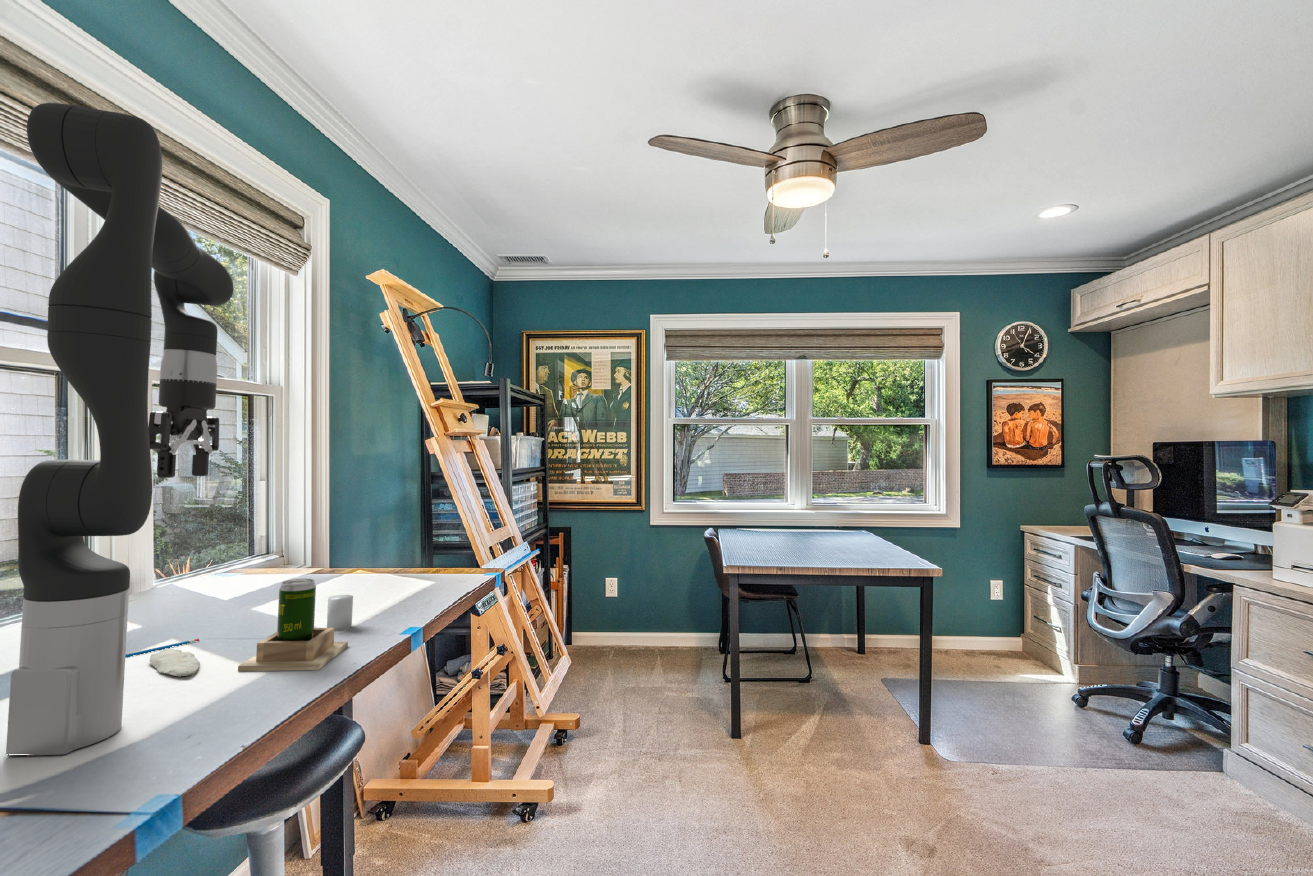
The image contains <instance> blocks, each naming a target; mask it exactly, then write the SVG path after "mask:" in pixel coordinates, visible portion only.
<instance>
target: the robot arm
mask: <svg viewBox="0 0 1313 876" xmlns="http://www.w3.org/2000/svg"><path fill="white" fill-rule="evenodd" d="M26 136H27V141H28V145H29V148H30V151H31V153H32V154H33V157H34V159H35V160H36V162H37V163H38V165H39V166H40V168H42V169H43V171H44V172H45V173H46V174H47V175H48V176H49V177H50V179H52V180H53V181H55V182H56V183H57V184H58V185H60V187H61V188H63V189H64V190H66V191H67V192H68V193H69V194H71V195H73V197H74V198H76V199H78V200H79V201H80V202H81V203H82V204H83V205H85V206H86V207H87V208H89V209H90V210H91V211H92V212H94V213H95V214H96V215H98V216H99V217H100V218H101V219H103V220H104V222H103V224H102V225H101V227H100V230H99V231H98V233H97V234H96V236H95V237H94V238H93V239H92V240H91V241H90V242H89V244H88V245H87V246H86V247H85V248H84V249H83V250H82V251H81V252H80V253H79V254H78V255H76V257H74V259H73V260H72V261H71V262H70V263H69V264H68V265H67V266H66V268H65V269H63V271H62V272H61V273H60V274H59V275H58V277H57V278H56V280H55V281H54V283H53V284H52V286H51V289H50V291H49V295H48V303H47V307H48V308H47V331H46V332H47V335H46V336H47V337H46V339H47V348H48V350H49V353H50V354H51V355H50V356H51V358H52V359H53V360H54V362H55V365H56V366H57V367H58V369H59V370H60V372H61V374H62V375H63V376H64V377H65V378H66V381H68V383H69V384H70V385H71V387H72V388H73V389H74V391H76V393H77V394H78V396H79V397H80V399H82V401H83V402H84V404H85V405H86V407H87V408H88V410H89V412H90V414H91V416H92V418H93V421H94V423H95V426H96V430H97V434H98V435H97V436H98V442H99V451H100V452H99V453H100V457H99V458H100V459H48V460H43V461H42V462H39V463H37V464H35V465H34V466H33V467H32V468H31V469H30V470H29V471H28V473H27V474H26V476H25V477H24V480H23V481H22V484H21V487H20V491H19V495H18V500H17V501H18V503H17V538H18V542H17V544H18V545H17V546H18V550H17V551H18V555H17V556H18V558H17V566H18V575H19V577H20V581H21V582H22V585H23V596H22V597H23V600H22V616H21V628H20V643H19V645H20V646H19V659H18V660H19V662H18V668H15V669H13V670H12V671H11V674H10V683H9V686H10V687H9V697H8V698H9V701H8V702H9V703H8V713H7V715H8V717H7V733H6V744H5V745H6V748H5V755H6V754H8V755H9V754H34V755H33V756H52V755H54V756H57V755H67V754H69V753H71V752H73V751H75V750H77V749H80V748H85V747H87V746H91V745H94V744H96V743H99V742H101V741H104V740H105V739H108V738H110V737H111V736H113V735H115V734H116V733H118V732H119V731H120V729H121V728H122V726H123V725H122V724H123V723H122V722H123V706H124V690H125V688H124V687H125V671H126V670H125V669H126V658H125V655H126V654H127V653H126V651H127V634H128V617H129V604H130V585H131V583H130V582H131V571H130V568H129V566H128V565H126V564H124V563H123V562H119V561H116V560H113V559H110V558H107V557H105V556H102V555H100V554H98V553H97V552H94V551H93V550H92V549H91V548H90V547H88V545H86V542H85V541H84V540H85V539H84V537H121V536H122V537H123V536H129V535H132V534H134V533H137V532H139V530H140V529H141V528H142V527H143V526H144V525H145V523H146V521H147V519H148V517H149V515H150V511H151V506H152V500H153V499H152V498H153V471H152V468H153V467H152V457H151V450H153V451H154V453H155V454H157V460H156V461H157V465H156V476H157V477H158V478H161V479H163V478H164V479H168V478H169V479H170V478H171V479H173V478H174V477H175V476H176V468H177V467H176V464H177V454H176V453H177V452H178V449H179V448H180V446H181V445H183V444H185V443H186V444H187V445H190V447H191V449H192V452H193V454H192V463H191V475H192V476H193V477H207V476H208V475H209V463H210V462H209V460H210V455H212V454H213V452H214V451H215V452H217V451H219V447H220V418H219V417H218V416H208V414H207V411H208V410H209V411H212V410H214V409H215V408H216V402H217V387H218V386H217V385H218V384H217V382H218V363H217V349H218V347H217V346H218V326H217V324H216V323H215V322H213V321H211V320H210V319H206V318H203V317H200V316H195V315H191V314H189V312H188V311H187V310H186V308H185V304H192V305H199V306H211V307H213V306H222V305H224V304H226V303H229V301H230V300H231V299H232V296H234V295H233V294H234V287H235V286H234V281H233V278H232V276H231V275H230V272H229V271H228V270H227V268H226V267H225V266H224V265H223V263H221V262H220V261H219V260H218V259H216V258H215V257H213V256H212V255H211V254H209V253H208V252H207V251H205V250H204V249H202V248H201V247H199V246H198V245H197V243H196V242H195V241H194V239H193V238H192V236H191V235H190V233H189V231H188V230H187V229H186V228H185V226H184V225H183V224H182V223H181V222H180V221H179V220H178V219H177V218H176V217H174V216H173V215H172V214H171V213H169V211H167V210H165V209H164V208H163V207H160V206H159V205H160V198H161V190H162V189H161V188H162V182H163V181H162V180H163V153H162V148H161V144H160V140H159V138H158V135H157V133H156V131H155V129H154V128H153V127H152V125H151V124H150V123H148V122H147V121H146V120H144V119H143V118H141V117H138V116H135V115H131V114H126V113H120V112H117V111H108V110H104V109H97V108H91V107H86V106H79V105H75V104H74V105H73V104H67V103H61V102H59V103H58V102H43V103H39V104H38V105H36V106H34V107H33V108H32V110H31V111H30V112H29V115H28V117H27V121H26ZM152 271H153V274H152ZM152 279H153V286H154V288H155V291H156V295H157V298H158V302H159V305H160V309H161V313H162V318H163V323H164V324H163V325H164V336H163V352H162V357H161V359H160V360H161V361H160V369H159V371H160V372H159V373H160V374H159V387H158V390H159V391H158V405H159V406H160V407H162V408H166V411H150V413H148V412H149V411H148V409H149V407H148V406H149V405H148V404H149V402H148V401H149V372H150V371H149V370H150V358H151V357H150V355H151V348H152V347H151V344H152V343H151V342H152V322H153V321H152V317H153V315H152V313H153V312H152V311H153V310H152V309H153V307H152ZM157 436H158V440H159V441H157Z"/></svg>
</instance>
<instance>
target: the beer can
mask: <svg viewBox="0 0 1313 876" xmlns="http://www.w3.org/2000/svg"><path fill="white" fill-rule="evenodd" d="M278 589H279V590H278V608H277V611H278V612H277V630H276V632H277V641H310V640H311V639H313V638H314V628H315V615H316V614H315V612H316V593H317V592H316V589H317V584H315V579H313V578H294V579H287V580H284V581H282V582H281V583H280V587H279V588H278Z"/></svg>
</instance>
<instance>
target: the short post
mask: <svg viewBox="0 0 1313 876" xmlns="http://www.w3.org/2000/svg"><path fill="white" fill-rule="evenodd" d="M353 605H354V596H353V595H352V594H338V595H337V594H336V595H331V596H329V597H327V615H326V617H327V618H326V628H334V632H336V631H337V632H338V631H345V630H344V629H346V630H348V629H347V628H349V629H351V628H352V625H353ZM350 627H351V628H350Z"/></svg>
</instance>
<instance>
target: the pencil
mask: <svg viewBox="0 0 1313 876" xmlns="http://www.w3.org/2000/svg"><path fill="white" fill-rule="evenodd" d="M195 641H199V642H200V638H196V639H195V638H194V639H190V640H185V641H181V642H177V643H172V644H171V643H170V644H167V645H164V646H163V645H162V646H159V647H153V648H149V649H145V650H141V651H137V652H130V653H126V655H125V659H127V658H130V656H132V657H134V656H133V655H136V656H141V655H145V654H149V653H148V652H150V653H152V652H151V651H154V652H156V651H155V650H159V651H163V650H166V649H165V648H168V649H171V648H170V647H172V646H177V647H180V646H179V645H181V646H183V645H182V644H186V645H188V644H187V643H191V642H195ZM195 643H196V642H195ZM191 644H192V643H191ZM172 648H173V647H172ZM162 649H163V650H162ZM144 653H145V654H144ZM140 654H141V655H140ZM126 657H127V658H126Z"/></svg>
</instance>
